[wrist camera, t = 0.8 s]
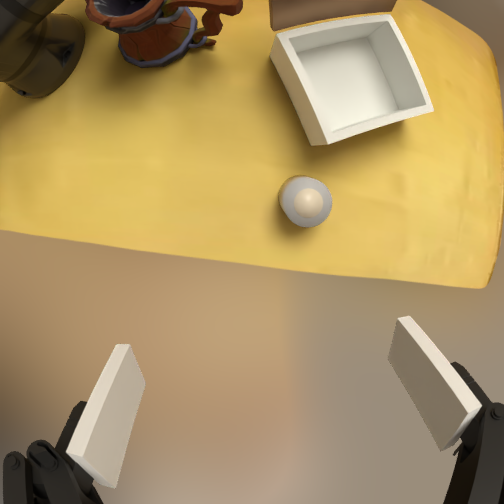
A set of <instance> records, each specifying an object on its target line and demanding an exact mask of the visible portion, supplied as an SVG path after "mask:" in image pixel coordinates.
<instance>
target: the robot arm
mask: <svg viewBox="0 0 504 504" xmlns="http://www.w3.org/2000/svg"><path fill="white" fill-rule="evenodd" d="M63 1H64V0H0V82H4V83H6V84H7V85H8V86H9V87H11V88H12V89H13V90H14V91H15V92H17V93H18V94H19V95H21V96H24V97H30V98H40V97H43V96H46V95H48V94H50V93H51V92H53V91H54V90H56V89H57V88H58V87H59V86H60V85H61V84H62V83H63V82H64V81H65V80H66V79H67V78H68V77H69V75H70V74H71V72H72V71H73V70H74V68H75V66H76V64H77V63H78V61H79V58H80V56H81V54H82V51H83V47H84V41H85V33H84V28H83V26H82V24H81V23H80V22H79V21H78V20H76V19H75V18H73V17H72V16H70V15H67V14H54V13H51V12H52V11H53V10H54V9H55V8H56V7H57V6H59V5H60V4H61V3H62V2H63ZM388 361H389V362H390V364H391V365H392V367H393V368H394V370H395V372H396V374H397V375H398V377H399V378H400V380H401V382H402V384H403V385H404V387H405V389H406V390H407V392H408V394H409V395H410V397H411V399H412V401H413V402H414V404H415V405H416V407H417V409H418V411H419V413H420V414H421V416H422V418H423V420H424V422H425V423H426V425H427V427H428V429H429V431H430V433H431V434H432V436H433V438H434V440H435V442H436V444H437V446H438V448H439V449H440V451H443V450H445V449H447V448H449V447H451V446H453V445H454V444H455V443H456V442H457V441H458V439H459V438H461V440H462V443H461V444H460V446H459V447H458V448H457V449H456V450H455V451H454V454H453V455H454V456H455V455H456V453H457V452H458V451H459V453H458V457H457V461H456V464H455V468H454V472H453V475H452V478H451V482H450V485H449V488H448V491H447V494H446V497H445V500H444V503H443V504H504V405H503V404H501V403H492V402H491V401H490V400H489V398H488V397H487V396H486V394H485V393H484V392H483V390H482V389H481V388H480V387H479V385H478V384H477V383H476V382H475V381H474V379H473V378H472V377H471V376H470V374H469V373H468V372H467V370H466V369H465V368H464V367H463V366H461V365H460V364H458V363H457V362H453V363H449V362H448V361H447V359H446V358H445V357H444V356H443V354H442V353H441V352H440V351H439V349H438V348H437V347H436V346H435V345H434V343H433V342H432V341H431V340H430V339H429V337H428V336H427V335H426V334H425V333H424V332H423V331H422V329H421V328H420V327H419V326H418V325H417V323H415V321H414V320H413V319H412V318H411V317H410V316H406V317H401V318H397V322H396V327H395V332H394V336H393V340H392V344H391V348H390V352H389V356H388ZM145 385H146V382H145V380H144V378H143V375H142V373H141V371H140V368H139V366H138V363H137V361H136V359H135V356H134V353H133V351H132V349H131V346H130V344H116V346H115V348H114V350H113V352H112V354H111V356H110V358H109V360H108V362H107V364H106V366H105V368H104V369H103V371H102V373H101V376H100V378H99V380H98V382H97V384H96V386H95V388H94V390H93V392H92V394H91V396H90V398H89V400H88V402H84V401H80V402H79V403H78V404H77V405H76V406H75V407H74V408H73V410H72V412H71V414H70V416H69V419H68V421H67V423H66V426H65V427H64V429H63V431H62V434H61V436H60V438H59V440H58V442H57V445H56V447H55V449H54V447H53V446H52V445H51V444H50V443H48V442H47V441H45V440H37V441H35V442H33V443H31V445H30V446H29V447H28V450H27V458H28V459H26V458H25V457H24V456H23V455H22V454H21V453H19V452H16V451H14V452H10V453H9V454H7V455H6V457H5V459H4V463H3V497H4V498H3V500H4V504H103V502H102V500H101V498H100V496H99V495H98V493H97V491H96V489H95V487H94V486H93V485H92V483H93V480H95V481H97V482H98V483H99V484H100V485H104V486H108V487H112V488H116V486H117V482H118V478H119V474H120V470H121V466H122V463H123V459H124V455H125V452H126V448H127V444H128V441H129V437H130V434H131V430H132V427H133V424H134V420H135V417H136V414H137V410H138V407H139V404H140V401H141V398H142V394H143V391H144V388H145Z"/></svg>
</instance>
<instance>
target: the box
mask: <svg viewBox="0 0 504 504" xmlns="http://www.w3.org/2000/svg"><path fill="white" fill-rule="evenodd" d="M270 58H271V60H272V62H273V64H274V66H275V68H276V70H277V72H278V74H279V76H280V78H281V80H282V82H283V84H284V86H285V88H286V90H287V93H288V95H289V97H290V99H291V101H292V103H293V106H294V108H295V110H296V112H297V115H298V117H299V119H300V121H301V124H302V126H303V128H304V131H305V133H306V135H307V138H308V140H309V143H310V145H311V146H316V145H328V144H331V143H334V142H337V141H339V140H342V139H345V138H348V137H351V136H354V135H357V134H360V133H363V132H366V131H369V130H372V129H375V128H378V127H381V126H384V125H388V124H391V123H394V122H397V121H401V120H404V119H407V118H411V117H414V116H418V115H421V114H425V113H429V112H432V111H434V109H433V106H432V103H431V100H430V97H429V95H428V92H427V89H426V87H425V84H424V82H423V79H422V77H421V75H420V72H419V70H418V68H417V65H416V63H415V61H414V59H413V56H412V54H411V52H410V50H409V48H408V46H407V44H406V42H405V40H404V38H403V36H402V34H401V32H400V30H399V29H398V27H397V25H396V23H395V21H394V20H393V18H392V16H391V14H386V15H374V16H364V17H356V18H349V19H342V20H336V21H330V22H325V23H320V24H315V25H310V26H306V27H301V28H297V29H293V30H289V31H285V32H282V33H278V34H276V36H275V40H274V43H273V46H272V49H271V52H270Z"/></svg>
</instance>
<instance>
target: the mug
mask: <svg viewBox="0 0 504 504" xmlns="http://www.w3.org/2000/svg"><path fill="white" fill-rule="evenodd" d="M85 1H86V3H87V6H86V10H85V12H86V14H87V16H88V18H89V20H91V21H94V22H96V23H98V24H100V25H103V26H105V27H106V29H108V30H111V31H114V32H116V33H118V34H119V44H118V47H119V49H120V51H121V53H122V55H123V57H124V59H125V60H126V61H127V62H129V63H132V64H134V65H136V66H139V67H141V68H147V67H164V66H166V65H168V64H170V63H171V62H173V61H175V60H177V59H179V58H181V57H183V56H184V55H185V54H186V52H187V51H188V50H189V48H197V47H200V46H201V45H206V46H212V45H215V43H216V40H212V39H208V38H207V36H215V35H218V34H219V33H220V31H221V29H222V26H223V24H222V22H221V20H220V18H219V14H220V13H222V14H226V15H230V16H234V15H236V14H239V13H240V11H241V10H242V8H243V1H242V0H85ZM188 7H200V8H206V9H207V11H206V12H205V14H204V15H203V16H202V23H203V26H204V27H203V28H199V29H197V19H196V18H195V16H194V15H193V13H192V12H191V11H190V9H189V8H188ZM193 43H195V44H193Z"/></svg>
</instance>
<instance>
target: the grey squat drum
mask: <svg viewBox="0 0 504 504" xmlns="http://www.w3.org/2000/svg"><path fill="white" fill-rule="evenodd" d="M279 203H280V206H281V208H282V209H283V211H284V212H285V213H286V215H287V216H288V218H289V219H290V220H291V221H292V222H293V223H295V224H296V225H298V226H301V227H314V226H317V225H319V224H320V223H322V222H323V221H324V220H325V219H326V218H327V217H328V215H329V214H330V211H331V208H332V197H331V193H330V191H329V190H328V188H327V187H326V186H325V185H324V184H323V183H322V182H320V181H318V180H316V179H313V178H310V177H307V176H304V175H297V176H293V177H291V178H289V179H287V180H286V181H285V182H284V183H283V185H282V186H281V188H280V191H279Z"/></svg>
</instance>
